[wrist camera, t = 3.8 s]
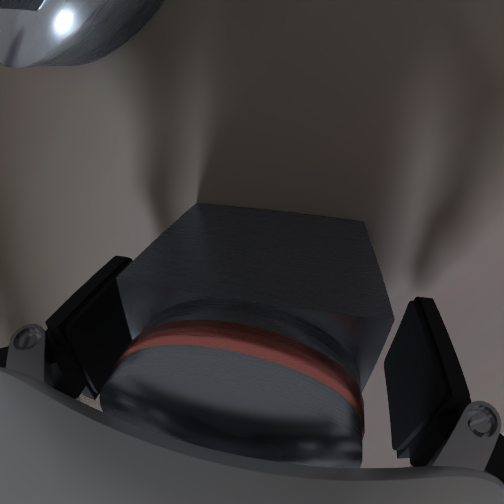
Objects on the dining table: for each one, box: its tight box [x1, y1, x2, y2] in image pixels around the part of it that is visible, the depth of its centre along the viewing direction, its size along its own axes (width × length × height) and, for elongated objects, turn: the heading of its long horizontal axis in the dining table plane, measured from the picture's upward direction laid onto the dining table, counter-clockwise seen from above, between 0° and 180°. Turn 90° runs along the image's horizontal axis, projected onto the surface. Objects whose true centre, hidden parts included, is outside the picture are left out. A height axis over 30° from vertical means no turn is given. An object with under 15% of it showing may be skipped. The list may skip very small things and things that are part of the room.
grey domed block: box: [100, 203, 395, 468], centre depth 8 cm, size 6×6×7 cm
